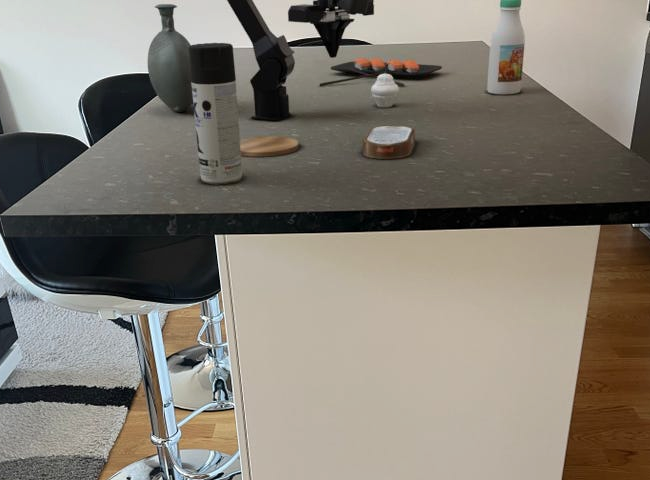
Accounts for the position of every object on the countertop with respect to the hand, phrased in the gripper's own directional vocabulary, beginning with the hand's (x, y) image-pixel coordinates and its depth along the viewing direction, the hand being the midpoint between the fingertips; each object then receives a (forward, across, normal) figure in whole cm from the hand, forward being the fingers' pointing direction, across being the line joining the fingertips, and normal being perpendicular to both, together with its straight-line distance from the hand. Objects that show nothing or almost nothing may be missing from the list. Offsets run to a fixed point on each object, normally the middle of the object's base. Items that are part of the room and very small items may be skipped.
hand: (333, 57), depth 156 cm
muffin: (+12, +16, 0) cm, 20 cm away
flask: (+12, -16, +34) cm, 39 cm away
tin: (+10, -15, -23) cm, 29 cm away
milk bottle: (+12, +45, -11) cm, 48 cm away
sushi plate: (+12, +42, +28) cm, 52 cm away
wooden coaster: (+12, -26, -9) cm, 30 cm away
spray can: (+12, -44, -19) cm, 49 cm away
